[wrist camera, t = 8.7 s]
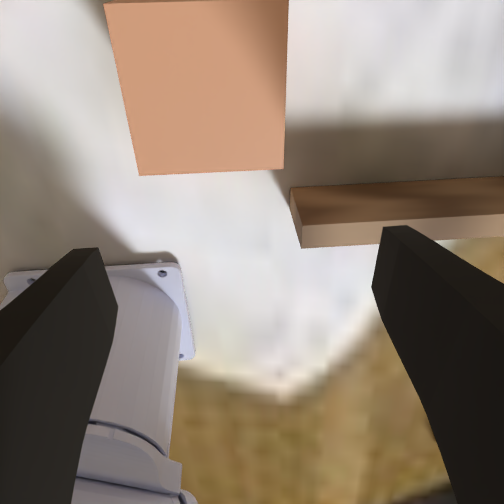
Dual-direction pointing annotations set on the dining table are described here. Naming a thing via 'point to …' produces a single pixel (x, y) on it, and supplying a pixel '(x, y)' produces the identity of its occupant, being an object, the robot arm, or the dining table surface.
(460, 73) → the dining table surface
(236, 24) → the block
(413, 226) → the open box
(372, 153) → the dining table surface
